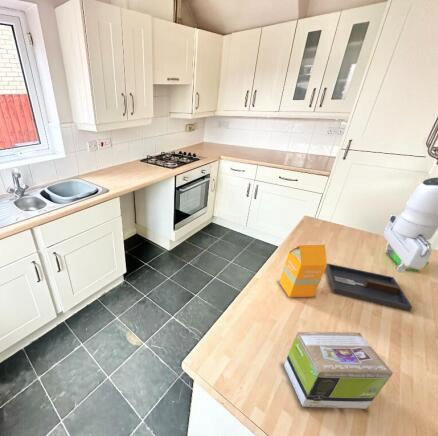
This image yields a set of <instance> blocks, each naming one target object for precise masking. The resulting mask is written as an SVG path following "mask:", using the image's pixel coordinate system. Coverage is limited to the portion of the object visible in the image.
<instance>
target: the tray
mask: <svg viewBox="0 0 438 436" xmlns="http://www.w3.org/2000/svg"><path fill="white" fill-rule="evenodd" d="M325 271H326V274H327V278H328V280H329V284H330V287H331V290H332V293H334V294H337V295H342V296H346V297H350V298H353V299H358V300H361V301H367V302H370V303H375V304H379V305H382V306H386V307H391V308H394V309H398V310H402V311H407V312H410V311H411V310H412V308H413V306H412V304H411V302H410V301H409V300H408V298H407V296H406V295H405V293H404V292H403V290H402V289H401V287H400V285H399V284H398V282H397V281H396V279H395V278H394V277H393V276H390V275H385V274H380V273H376V272H371V271H366V270H365V271H364V270H361V269H356V268H351V267H346V266H341V265H337V264H333V263H328V262H327V267H326V269H325ZM334 276H335V277H340V278H344V279H349V280H354V282H356V283H361V284H364V283H365V281H366V280H367V279H369V280H374V281H378V282H383V283H387V284H392V285H397V286H398V287H399V288H400V289H399V291H398V292H397V294H392V293H388V292H383V291H379V290H374V289H370V288H366V287H363V286H359V285H356V286H353V285H348V284H345V283H340V282H336V281H335V280H334Z"/></svg>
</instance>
